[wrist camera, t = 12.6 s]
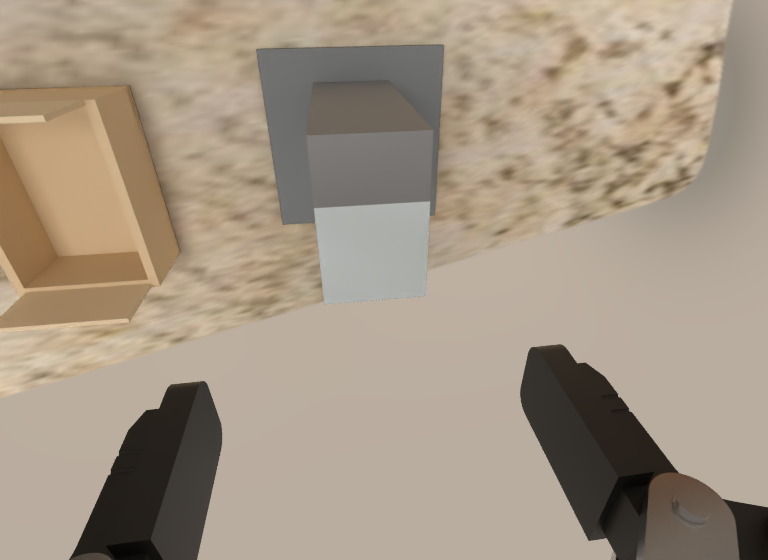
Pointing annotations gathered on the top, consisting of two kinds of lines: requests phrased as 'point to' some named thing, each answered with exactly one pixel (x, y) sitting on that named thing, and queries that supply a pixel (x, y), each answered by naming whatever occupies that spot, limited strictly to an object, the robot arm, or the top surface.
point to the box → (369, 190)
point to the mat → (337, 64)
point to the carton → (78, 208)
